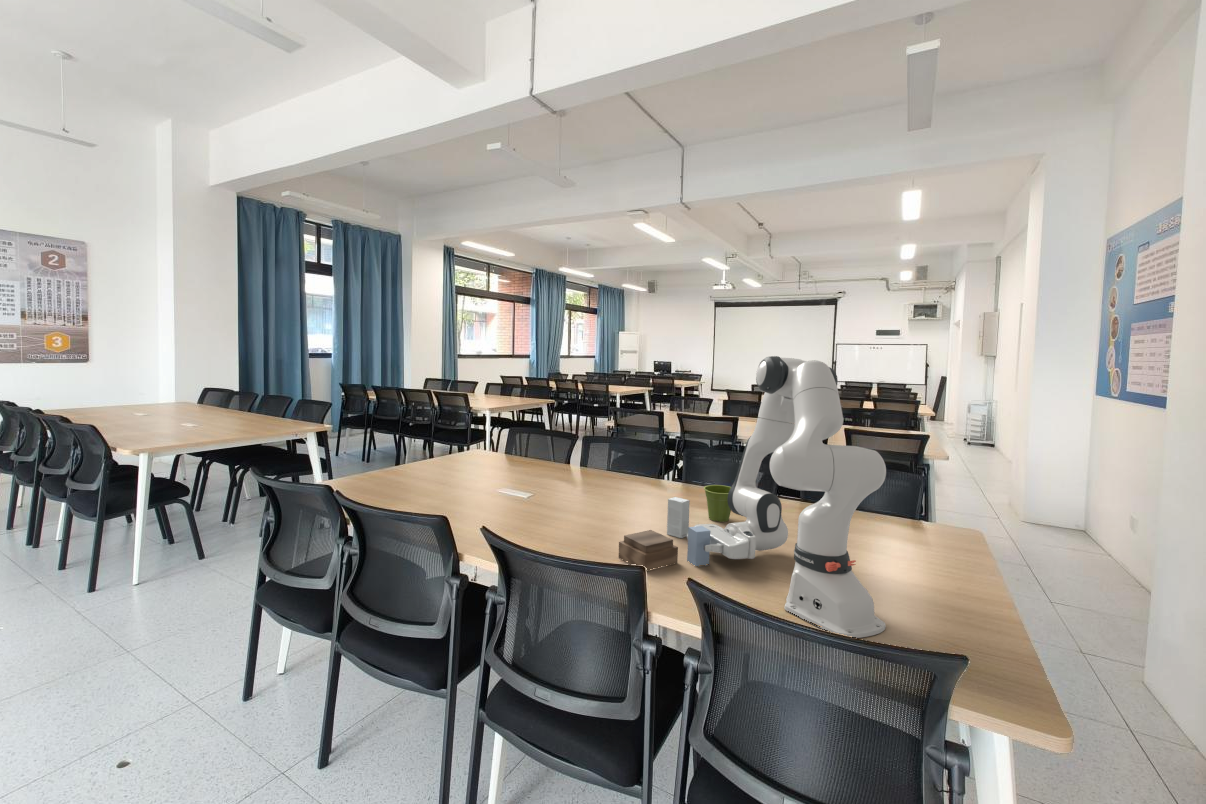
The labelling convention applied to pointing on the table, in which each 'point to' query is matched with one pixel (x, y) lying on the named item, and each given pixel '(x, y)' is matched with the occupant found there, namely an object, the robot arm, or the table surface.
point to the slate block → (698, 545)
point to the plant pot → (718, 502)
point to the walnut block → (648, 549)
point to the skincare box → (678, 517)
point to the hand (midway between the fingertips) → (696, 542)
